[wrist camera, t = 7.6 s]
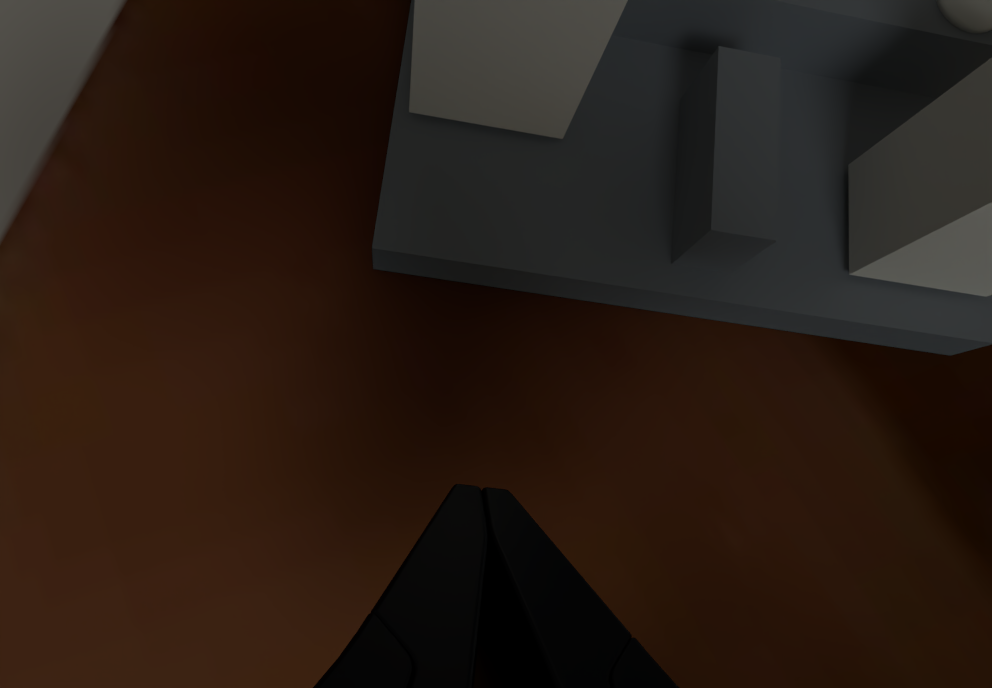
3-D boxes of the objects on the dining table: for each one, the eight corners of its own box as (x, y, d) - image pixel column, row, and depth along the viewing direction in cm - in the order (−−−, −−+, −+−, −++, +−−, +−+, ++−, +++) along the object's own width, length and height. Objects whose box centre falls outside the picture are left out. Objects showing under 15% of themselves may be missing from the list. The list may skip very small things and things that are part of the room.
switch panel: (950, 355, 26) (1085, 318, 21) (373, 268, 24) (368, 204, 19) (939, 67, 29) (1055, -26, 24) (421, -36, 27) (429, -164, 22)
